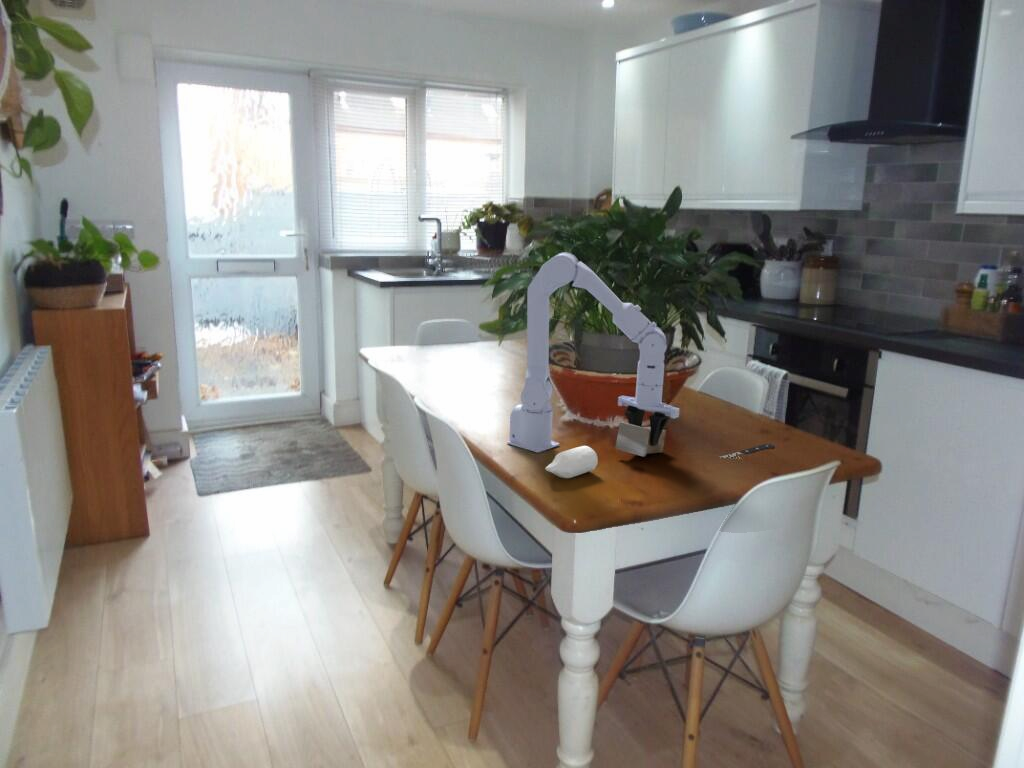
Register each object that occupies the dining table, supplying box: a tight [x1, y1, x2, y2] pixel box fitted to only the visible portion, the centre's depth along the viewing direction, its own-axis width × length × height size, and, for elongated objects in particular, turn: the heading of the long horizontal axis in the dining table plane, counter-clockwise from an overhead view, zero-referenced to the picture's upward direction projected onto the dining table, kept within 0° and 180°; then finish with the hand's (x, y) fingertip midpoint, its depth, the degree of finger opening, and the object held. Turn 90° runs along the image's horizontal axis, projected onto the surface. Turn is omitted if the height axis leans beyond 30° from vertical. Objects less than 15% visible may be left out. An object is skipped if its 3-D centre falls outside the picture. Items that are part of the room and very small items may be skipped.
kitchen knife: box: [719, 443, 776, 459], centre depth 166 cm, size 29×1×10 cm
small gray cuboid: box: [614, 421, 667, 458], centre depth 166 cm, size 11×7×6 cm, turn 138°
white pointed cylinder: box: [544, 445, 599, 479], centre depth 152 cm, size 6×12×6 cm, turn 132°
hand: (645, 442), depth 167 cm, fingers closed on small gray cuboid, 4 cm apart
